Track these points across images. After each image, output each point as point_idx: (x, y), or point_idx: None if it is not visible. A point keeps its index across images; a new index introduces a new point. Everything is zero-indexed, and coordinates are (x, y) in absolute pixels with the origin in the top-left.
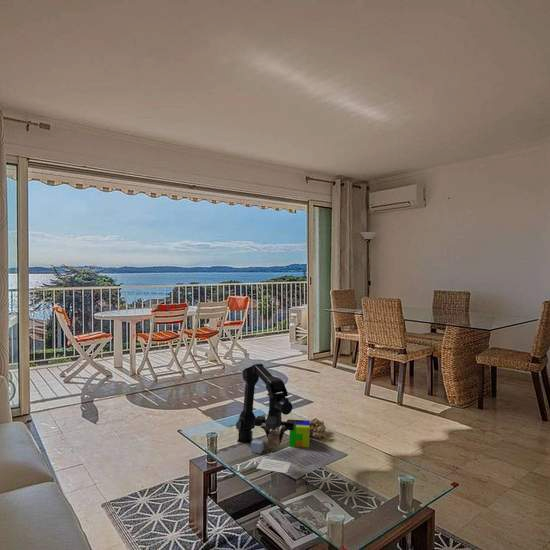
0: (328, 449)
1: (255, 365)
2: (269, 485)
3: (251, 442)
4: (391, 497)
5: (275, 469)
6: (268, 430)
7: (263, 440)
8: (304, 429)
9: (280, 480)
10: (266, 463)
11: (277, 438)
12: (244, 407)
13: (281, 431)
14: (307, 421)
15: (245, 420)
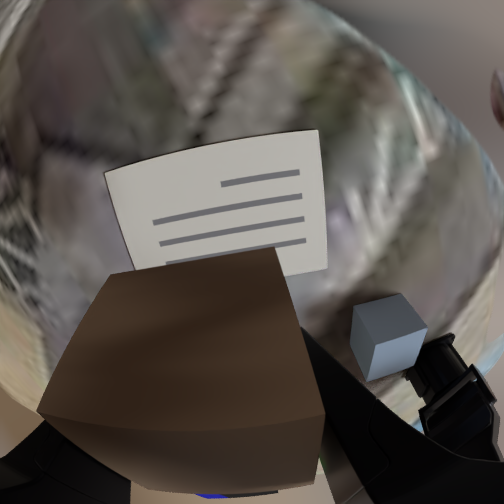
0: None
1: None
2: (142, 2)
3: (425, 330)
4: None
5: (185, 175)
6: (350, 490)
7: (366, 378)
8: None
9: (102, 80)
10: (281, 222)
11: (75, 365)
12: (501, 456)
13: (1, 479)
14: (210, 496)
15: (483, 412)
